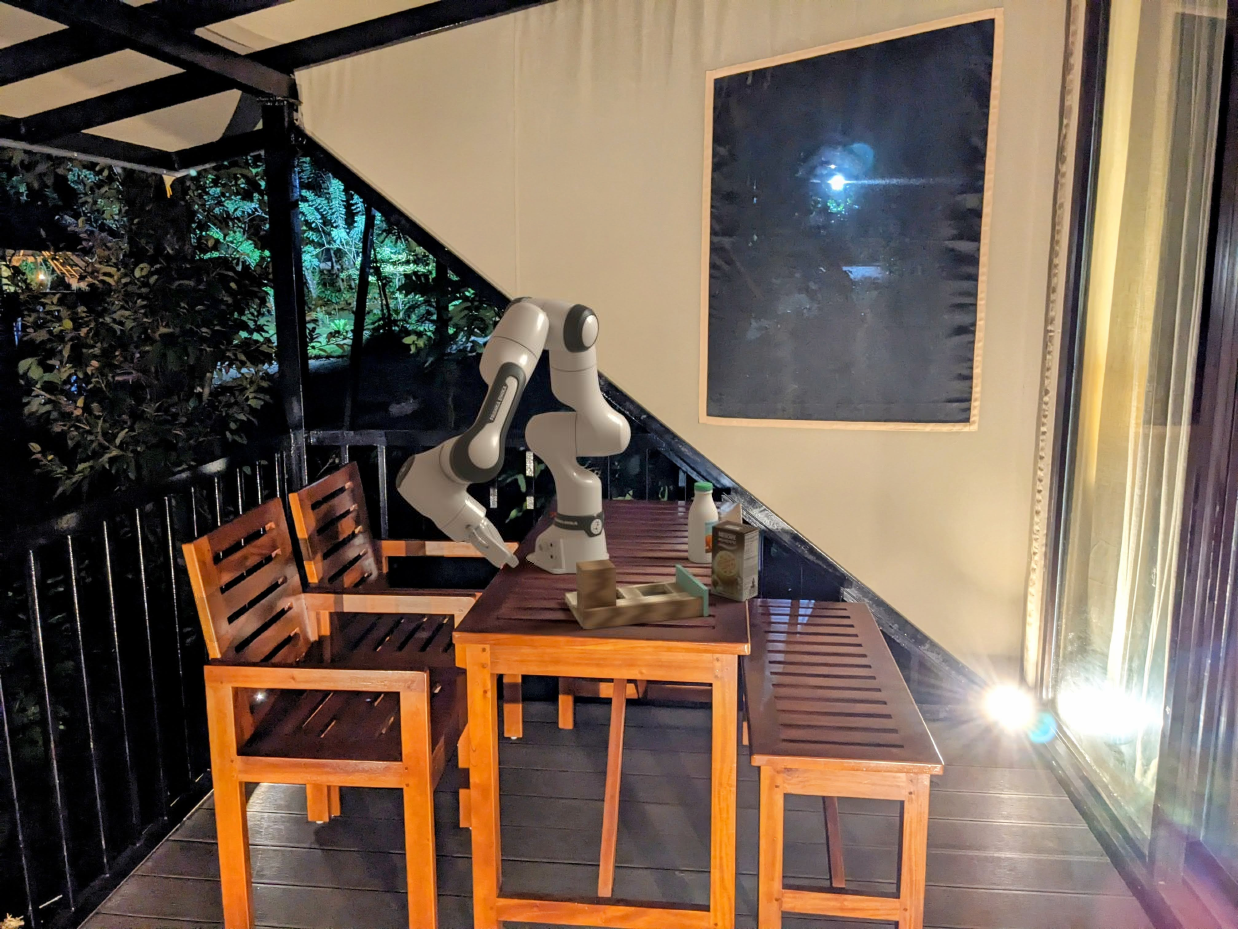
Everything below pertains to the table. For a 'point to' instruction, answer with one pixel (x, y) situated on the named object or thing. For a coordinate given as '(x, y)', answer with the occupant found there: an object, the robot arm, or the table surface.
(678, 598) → the board
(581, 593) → the walnut block
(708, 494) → the milk bottle
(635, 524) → the table surface
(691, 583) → the end stop
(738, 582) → the coffee box
